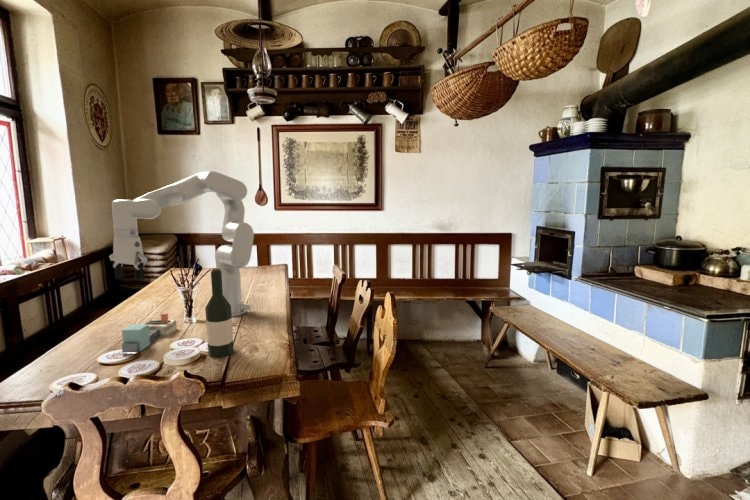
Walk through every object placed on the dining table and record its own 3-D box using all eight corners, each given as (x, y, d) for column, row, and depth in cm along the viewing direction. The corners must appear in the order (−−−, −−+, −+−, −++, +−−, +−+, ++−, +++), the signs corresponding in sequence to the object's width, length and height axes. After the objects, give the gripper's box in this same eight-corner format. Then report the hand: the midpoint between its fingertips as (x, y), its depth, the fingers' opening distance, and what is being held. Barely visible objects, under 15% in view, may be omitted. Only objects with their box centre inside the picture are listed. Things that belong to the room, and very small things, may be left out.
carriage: (150, 344, 148) (148, 324, 146) (141, 351, 142) (139, 330, 141) (133, 344, 148) (132, 324, 146) (124, 351, 142) (121, 330, 140)
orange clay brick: (168, 321, 162) (167, 313, 161) (166, 322, 160) (165, 314, 160) (163, 321, 162) (162, 313, 161) (161, 322, 160) (160, 314, 160)
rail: (162, 336, 157) (161, 326, 156) (137, 354, 140) (136, 343, 139) (149, 336, 157) (148, 326, 156) (122, 354, 140) (121, 343, 139)
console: (176, 329, 166) (175, 318, 165) (167, 336, 158) (166, 324, 157) (152, 329, 165) (151, 318, 165) (141, 336, 158) (140, 324, 157)
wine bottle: (218, 359, 136) (213, 272, 131) (203, 354, 140) (197, 269, 136) (238, 351, 143) (234, 267, 138) (223, 346, 147) (218, 265, 143)
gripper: (152, 233, 150) (156, 278, 153) (117, 231, 155) (121, 275, 158) (135, 235, 143) (139, 282, 145) (98, 233, 148) (102, 279, 151)
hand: (129, 278), depth 152 cm, fingers open, 9 cm apart
